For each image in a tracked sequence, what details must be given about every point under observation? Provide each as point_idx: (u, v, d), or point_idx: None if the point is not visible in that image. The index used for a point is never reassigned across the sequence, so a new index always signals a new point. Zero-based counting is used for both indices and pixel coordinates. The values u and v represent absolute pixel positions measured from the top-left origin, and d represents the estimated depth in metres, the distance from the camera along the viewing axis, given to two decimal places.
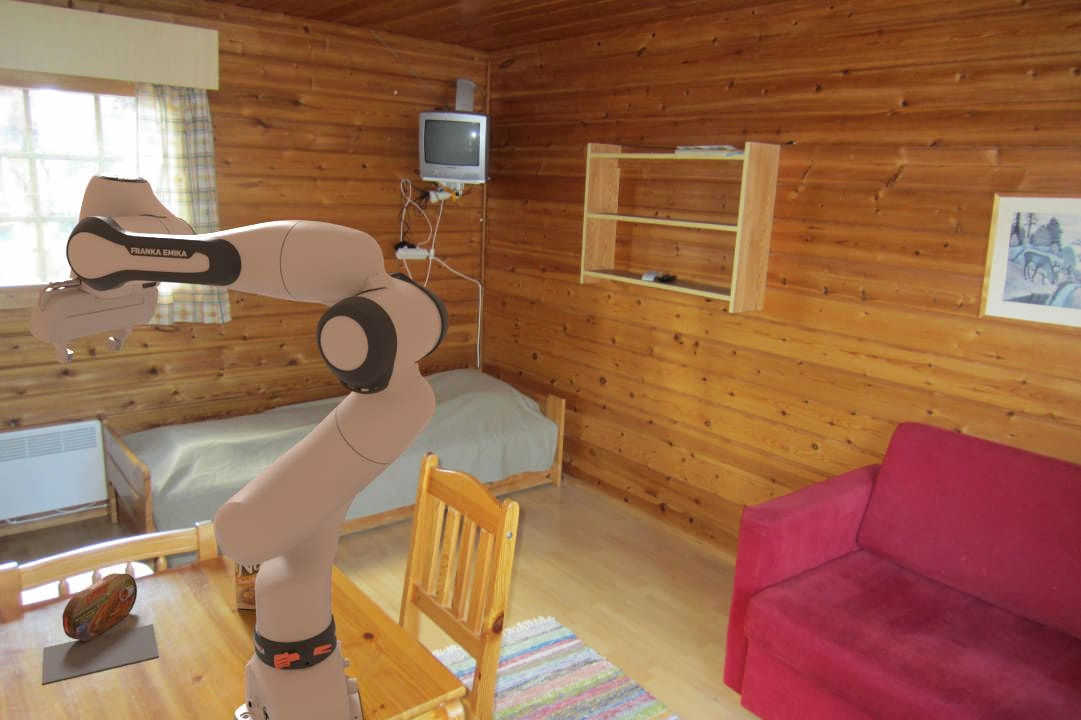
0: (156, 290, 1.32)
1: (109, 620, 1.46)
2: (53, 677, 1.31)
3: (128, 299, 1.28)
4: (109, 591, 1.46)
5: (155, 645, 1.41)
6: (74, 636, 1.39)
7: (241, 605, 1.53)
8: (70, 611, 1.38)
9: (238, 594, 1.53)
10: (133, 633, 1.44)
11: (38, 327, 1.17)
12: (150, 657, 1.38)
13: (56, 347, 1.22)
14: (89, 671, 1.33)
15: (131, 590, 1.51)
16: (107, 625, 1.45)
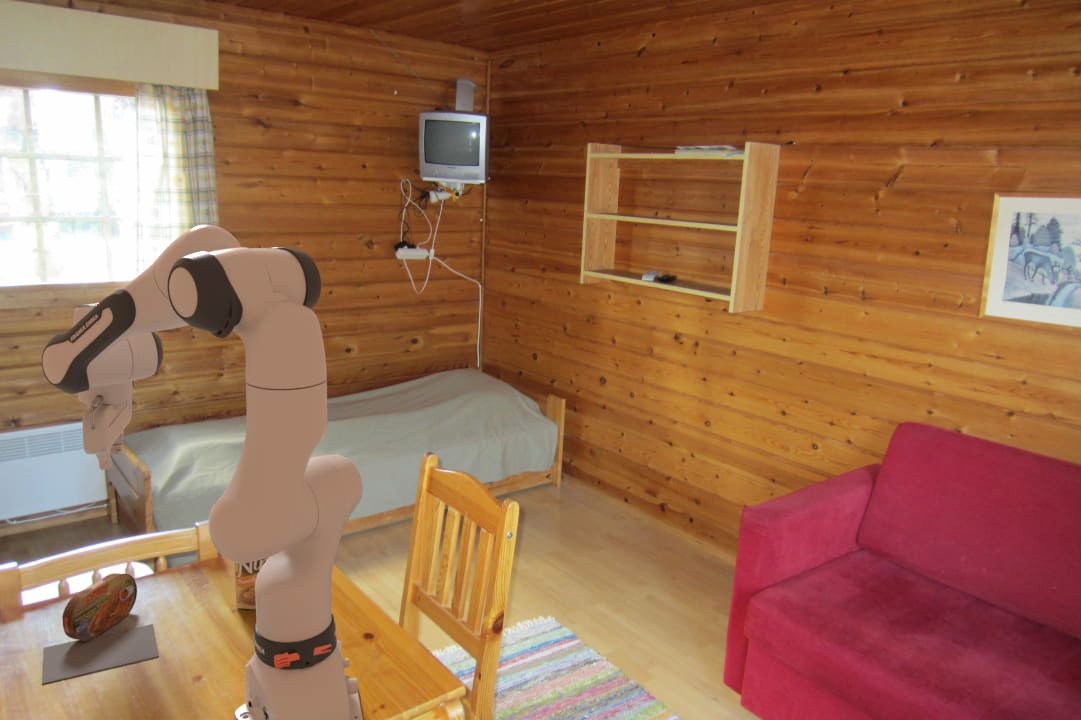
0: None
1: (109, 620, 1.46)
2: (53, 677, 1.31)
3: None
4: (109, 591, 1.46)
5: (155, 645, 1.41)
6: (74, 636, 1.39)
7: (241, 605, 1.53)
8: (70, 611, 1.38)
9: (238, 594, 1.53)
10: (133, 633, 1.44)
11: (95, 443, 1.40)
12: (150, 657, 1.38)
13: (99, 458, 1.46)
14: (89, 671, 1.33)
15: (131, 590, 1.51)
16: (107, 625, 1.45)
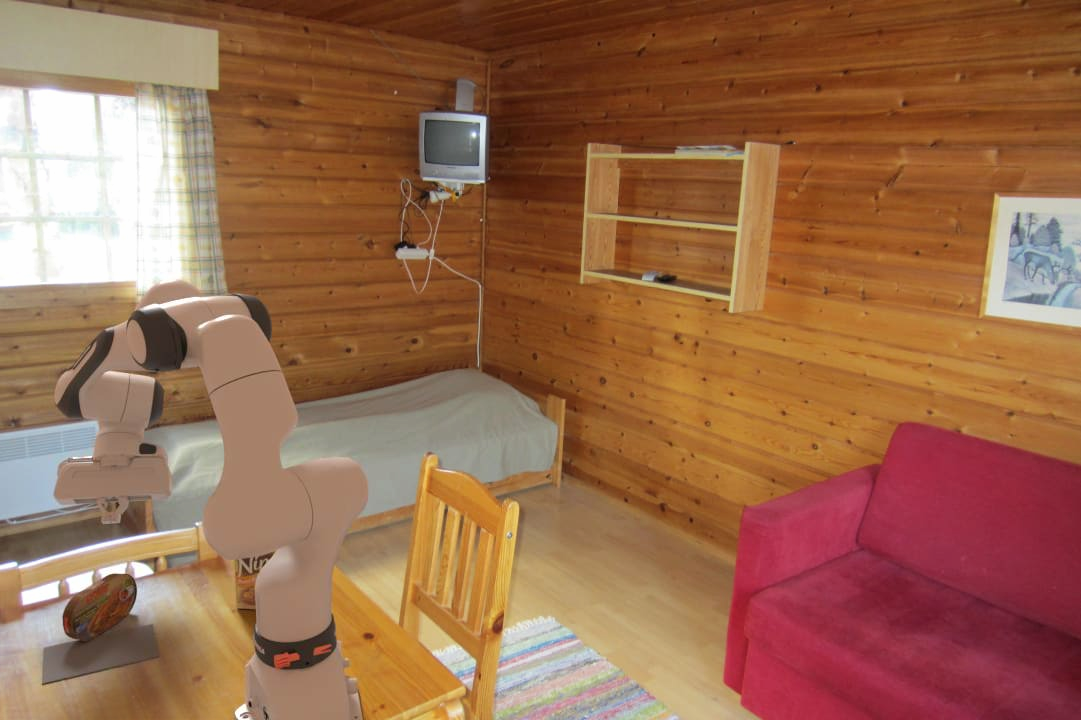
0: (162, 460, 1.58)
1: (109, 620, 1.46)
2: (53, 677, 1.31)
3: (137, 470, 1.57)
4: (109, 591, 1.46)
5: (155, 645, 1.41)
6: (74, 636, 1.39)
7: (241, 605, 1.53)
8: (70, 611, 1.38)
9: (238, 594, 1.53)
10: (133, 633, 1.44)
11: None
12: (150, 657, 1.38)
13: None
14: (89, 671, 1.33)
15: (131, 590, 1.51)
16: (107, 625, 1.45)
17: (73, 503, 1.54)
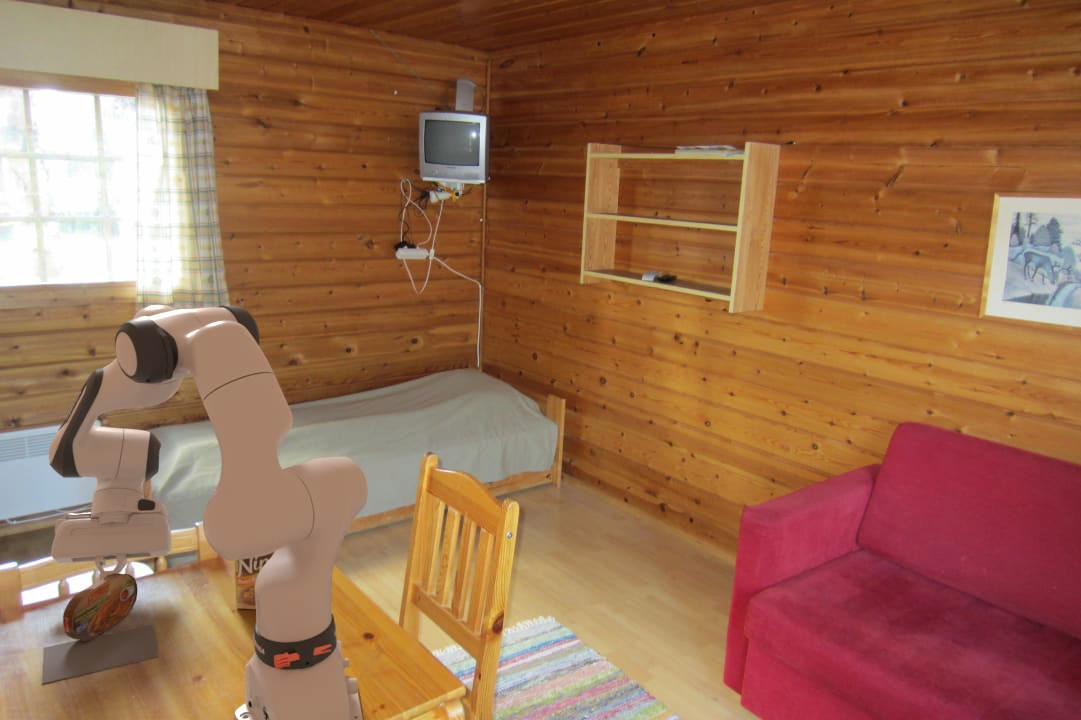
0: (161, 516, 1.56)
1: (109, 620, 1.46)
2: (53, 677, 1.31)
3: (136, 527, 1.55)
4: (110, 591, 1.46)
5: (155, 645, 1.41)
6: (74, 636, 1.39)
7: (241, 605, 1.53)
8: (71, 611, 1.38)
9: (238, 594, 1.53)
10: (133, 633, 1.44)
11: None
12: (150, 657, 1.38)
13: None
14: (89, 671, 1.33)
15: (132, 590, 1.51)
16: (107, 625, 1.45)
17: (71, 561, 1.52)
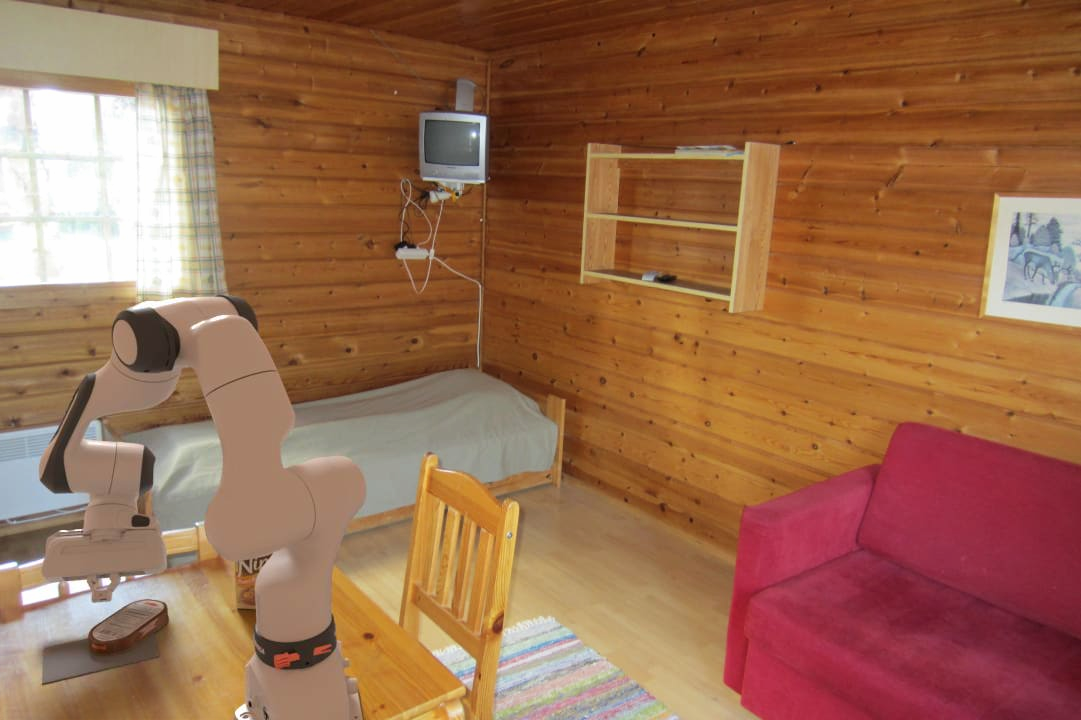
0: (155, 533, 1.51)
1: None
2: (53, 677, 1.31)
3: (130, 544, 1.50)
4: None
5: (155, 645, 1.41)
6: (90, 648, 1.38)
7: (241, 605, 1.53)
8: (113, 649, 1.38)
9: (238, 594, 1.53)
10: None
11: None
12: (150, 657, 1.38)
13: None
14: (89, 671, 1.33)
15: None
16: None
17: (62, 580, 1.46)
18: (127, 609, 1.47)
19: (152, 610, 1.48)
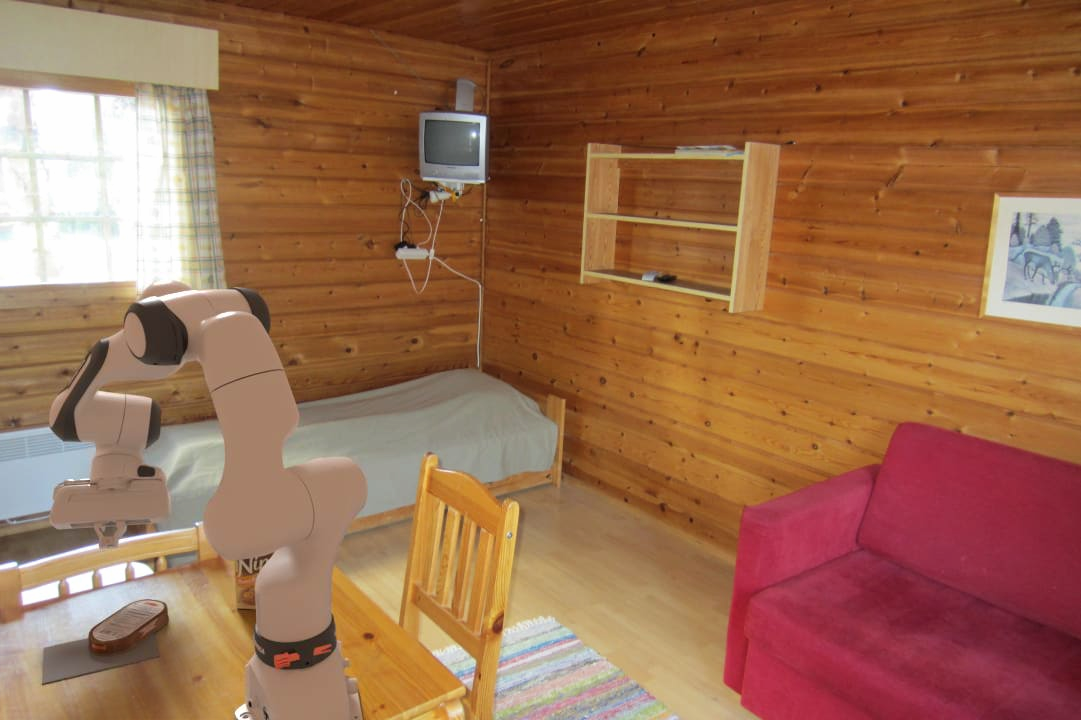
0: (161, 483, 1.55)
1: None
2: (53, 677, 1.31)
3: (136, 493, 1.54)
4: None
5: (155, 645, 1.41)
6: (90, 648, 1.38)
7: (241, 605, 1.53)
8: (113, 649, 1.38)
9: (238, 594, 1.53)
10: None
11: None
12: (150, 657, 1.38)
13: None
14: (89, 671, 1.33)
15: None
16: None
17: (69, 527, 1.50)
18: (127, 609, 1.47)
19: (152, 610, 1.48)
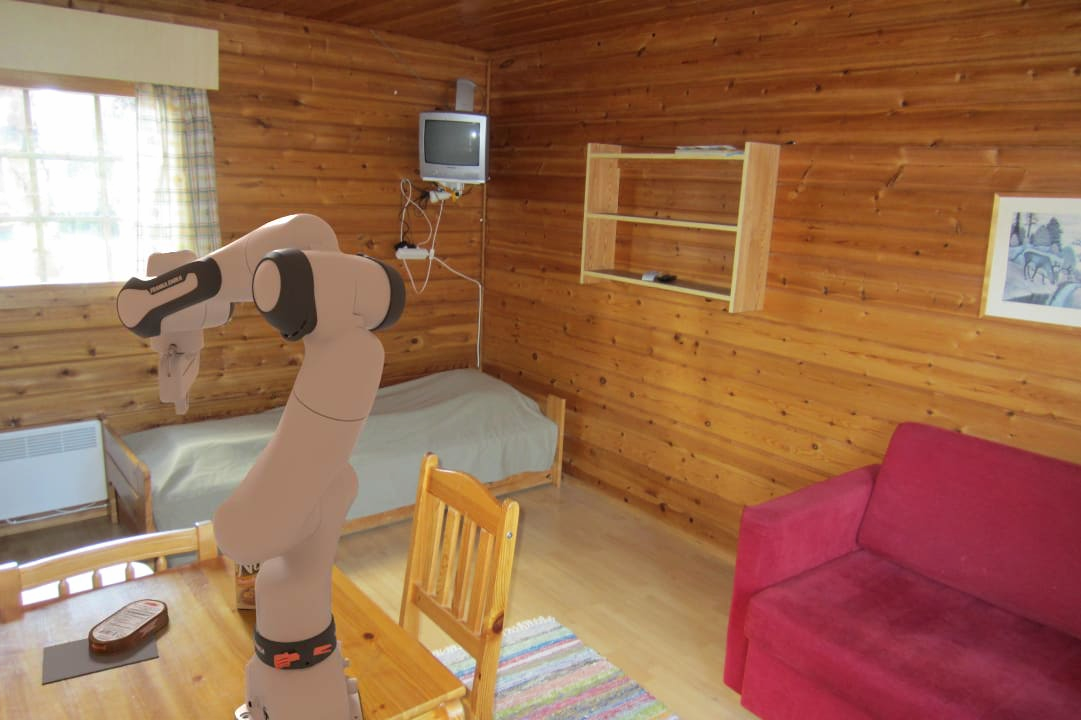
0: None
1: None
2: (53, 677, 1.31)
3: None
4: None
5: (155, 645, 1.41)
6: (90, 648, 1.38)
7: (241, 605, 1.53)
8: (113, 649, 1.38)
9: (238, 594, 1.53)
10: None
11: (170, 391, 1.39)
12: (150, 657, 1.38)
13: (176, 403, 1.48)
14: (89, 671, 1.33)
15: None
16: None
17: None
18: (127, 609, 1.47)
19: (152, 610, 1.48)
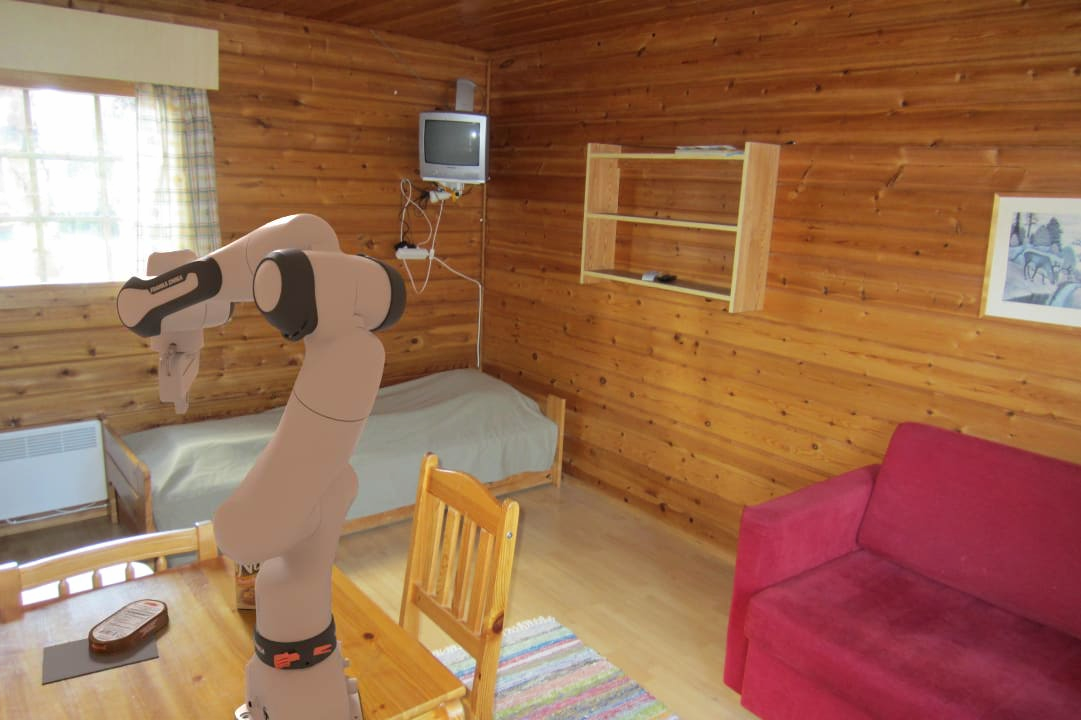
0: None
1: None
2: (53, 677, 1.31)
3: None
4: None
5: (155, 645, 1.41)
6: (90, 648, 1.38)
7: (241, 605, 1.53)
8: (113, 649, 1.38)
9: (238, 594, 1.53)
10: None
11: (170, 390, 1.39)
12: (150, 657, 1.38)
13: (176, 402, 1.47)
14: (89, 671, 1.33)
15: None
16: None
17: None
18: (127, 609, 1.47)
19: (152, 610, 1.48)
